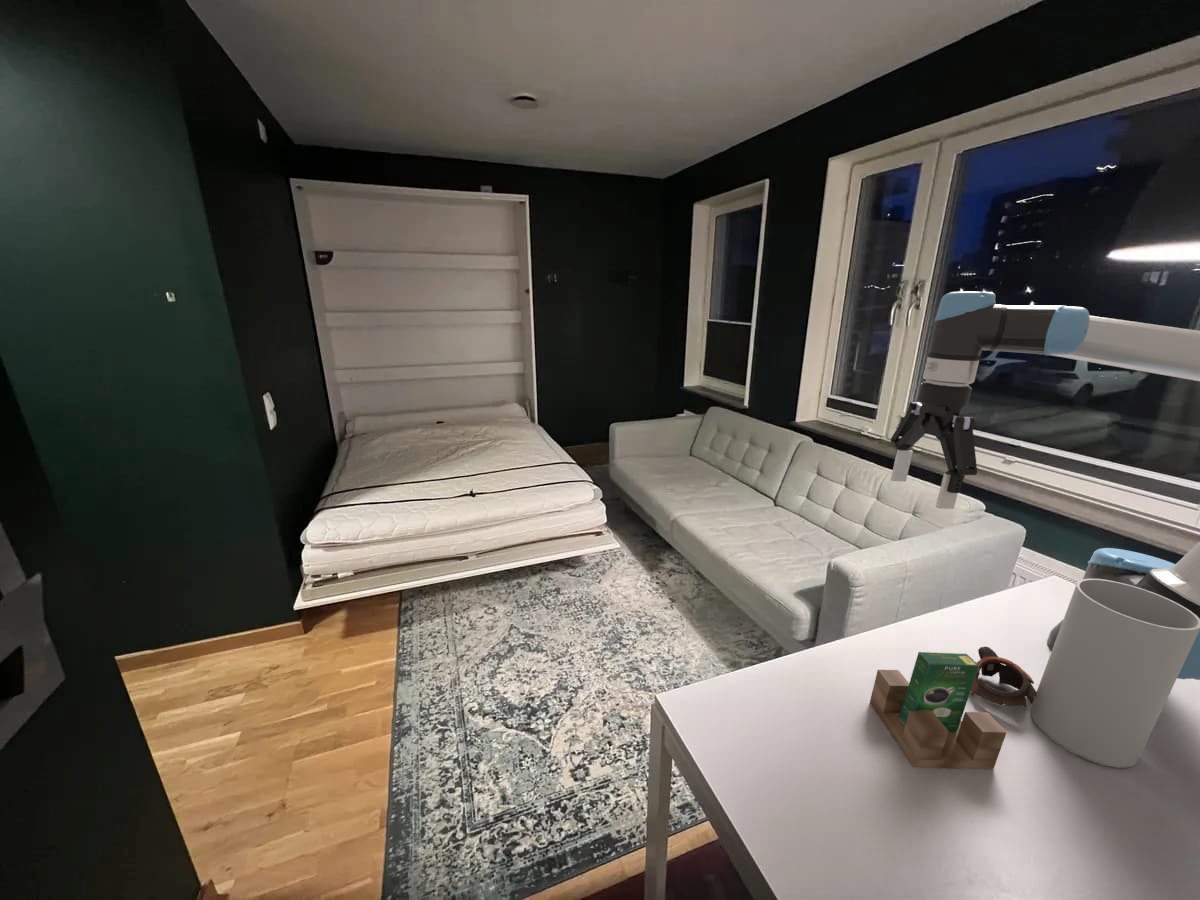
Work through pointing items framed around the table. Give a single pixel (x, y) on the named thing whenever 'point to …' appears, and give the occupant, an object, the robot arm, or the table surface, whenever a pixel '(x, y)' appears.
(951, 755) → the walnut cross socket
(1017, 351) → the robot arm
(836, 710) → the table surface
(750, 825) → the table surface
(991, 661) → the brown ring-shaped frame
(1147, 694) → the cylinder vase
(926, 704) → the coffee box
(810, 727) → the table surface
